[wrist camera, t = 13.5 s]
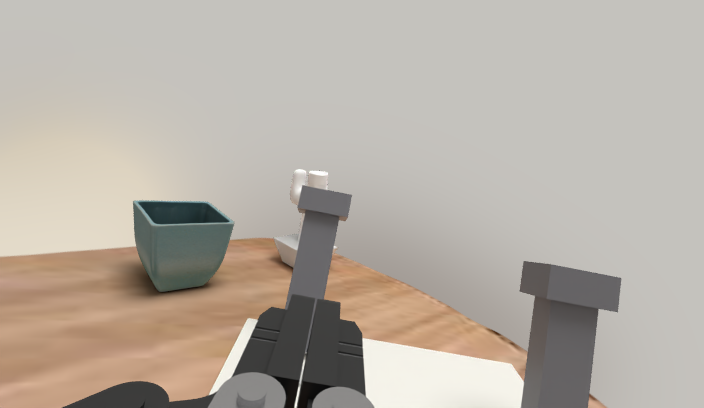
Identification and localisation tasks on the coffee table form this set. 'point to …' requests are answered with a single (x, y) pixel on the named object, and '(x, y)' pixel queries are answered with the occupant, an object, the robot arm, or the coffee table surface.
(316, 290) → the lever
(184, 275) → the flower pot
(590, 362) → the lever
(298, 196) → the figurine
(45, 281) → the coffee table surface
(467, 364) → the switch base
